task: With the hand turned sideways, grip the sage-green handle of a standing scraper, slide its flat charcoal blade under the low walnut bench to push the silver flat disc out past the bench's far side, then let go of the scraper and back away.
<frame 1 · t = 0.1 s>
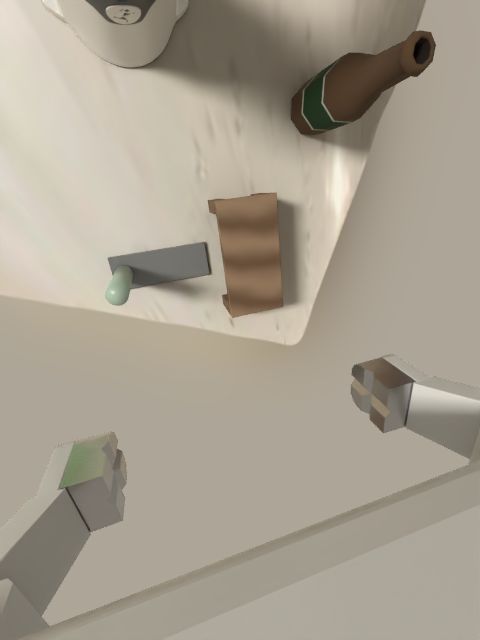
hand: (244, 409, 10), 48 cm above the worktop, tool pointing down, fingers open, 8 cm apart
scraper: (124, 272, 53), on the worktop
beer bottle: (308, 111, 51), on the worktop
bench: (241, 251, 57), on the worktop
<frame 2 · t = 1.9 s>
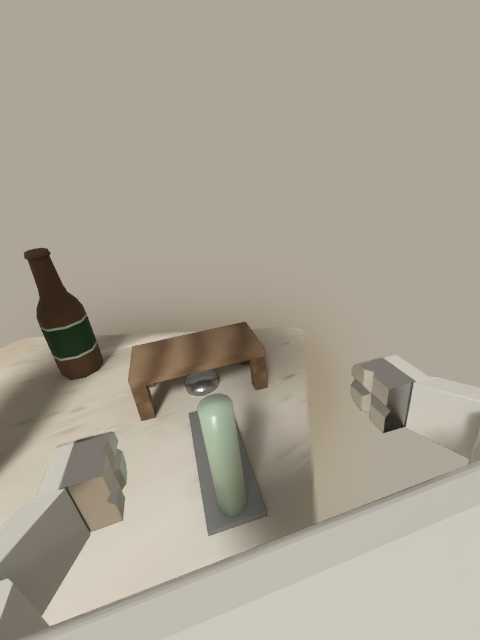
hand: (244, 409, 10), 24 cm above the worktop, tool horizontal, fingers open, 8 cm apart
scraper: (233, 506, 31), on the worktop
beer bottle: (84, 369, 59), on the worktop
bench: (202, 384, 50), on the worktop
silver flat disc: (202, 386, 50), on the worktop
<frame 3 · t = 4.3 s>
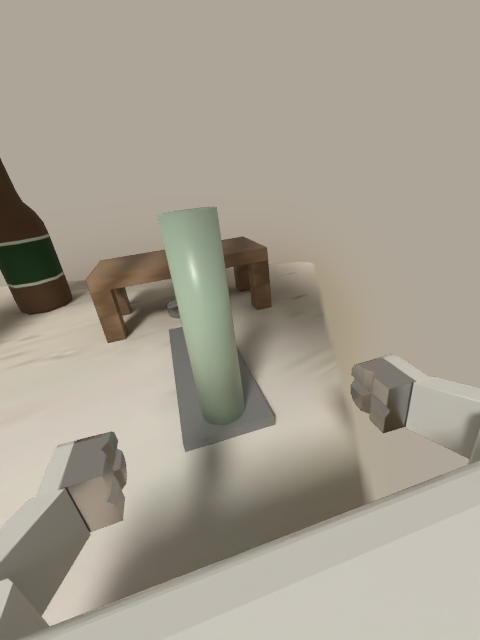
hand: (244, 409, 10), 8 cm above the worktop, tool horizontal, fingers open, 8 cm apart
scraper: (225, 417, 21), on the worktop
beer bottle: (48, 306, 49), on the worktop
bench: (189, 309, 40), on the worktop
silver flat disc: (189, 311, 40), on the worktop
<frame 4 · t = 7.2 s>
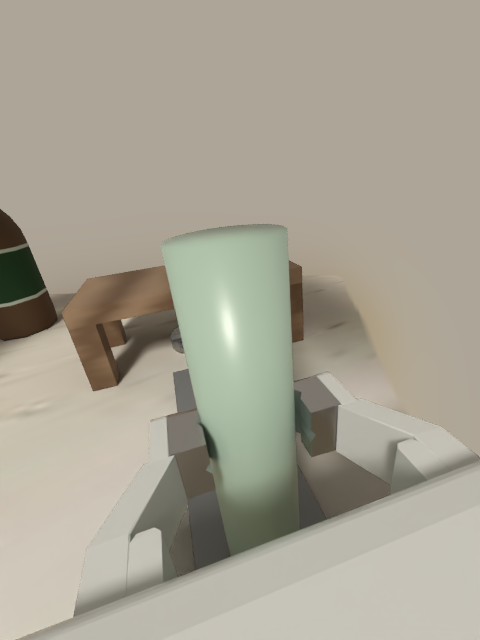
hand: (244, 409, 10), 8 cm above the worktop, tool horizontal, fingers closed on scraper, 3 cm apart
scraper: (266, 556, 13), on the worktop, touching gripper
beer bottle: (28, 329, 41), on the worktop
bench: (198, 339, 32), on the worktop
silver flat disc: (198, 342, 32), on the worktop
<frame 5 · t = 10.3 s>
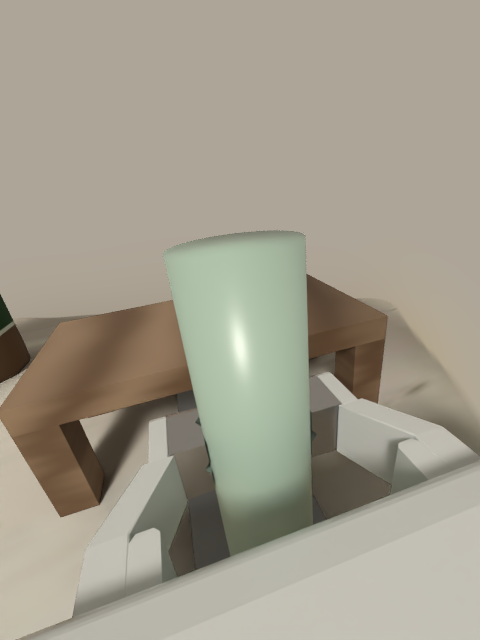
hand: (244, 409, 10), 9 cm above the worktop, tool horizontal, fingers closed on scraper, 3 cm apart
scraper: (276, 589, 12), on the worktop, touching gripper
bench: (219, 407, 22), on the worktop
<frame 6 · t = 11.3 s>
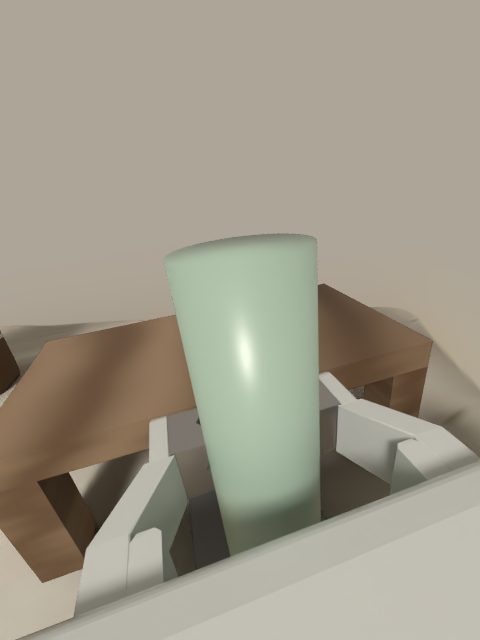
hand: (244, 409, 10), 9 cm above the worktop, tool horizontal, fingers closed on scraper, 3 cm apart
scraper: (281, 605, 11), on the worktop, touching gripper
bench: (228, 437, 20), on the worktop
when the fingers open (8 cm above the worktop, at t = 12.4 s): scraper stays where it is, on the worktop.
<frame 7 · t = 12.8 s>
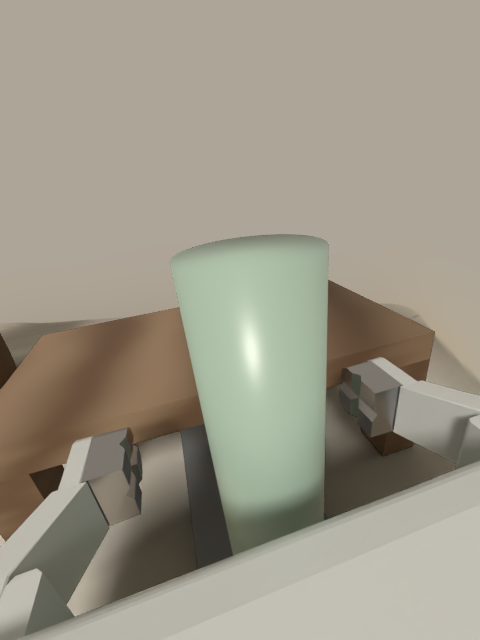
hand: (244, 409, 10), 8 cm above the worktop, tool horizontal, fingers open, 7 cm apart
scraper: (282, 600, 11), on the worktop
bench: (227, 432, 19), on the worktop
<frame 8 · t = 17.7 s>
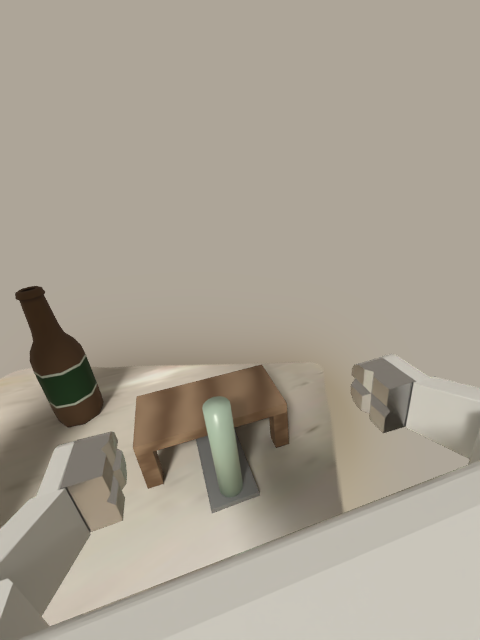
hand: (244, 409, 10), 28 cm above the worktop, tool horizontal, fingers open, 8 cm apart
scraper: (231, 489, 37), on the worktop
beer bottle: (82, 413, 54), on the worktop
bench: (214, 438, 45), on the worktop
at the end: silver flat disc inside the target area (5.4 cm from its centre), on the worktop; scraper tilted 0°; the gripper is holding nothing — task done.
